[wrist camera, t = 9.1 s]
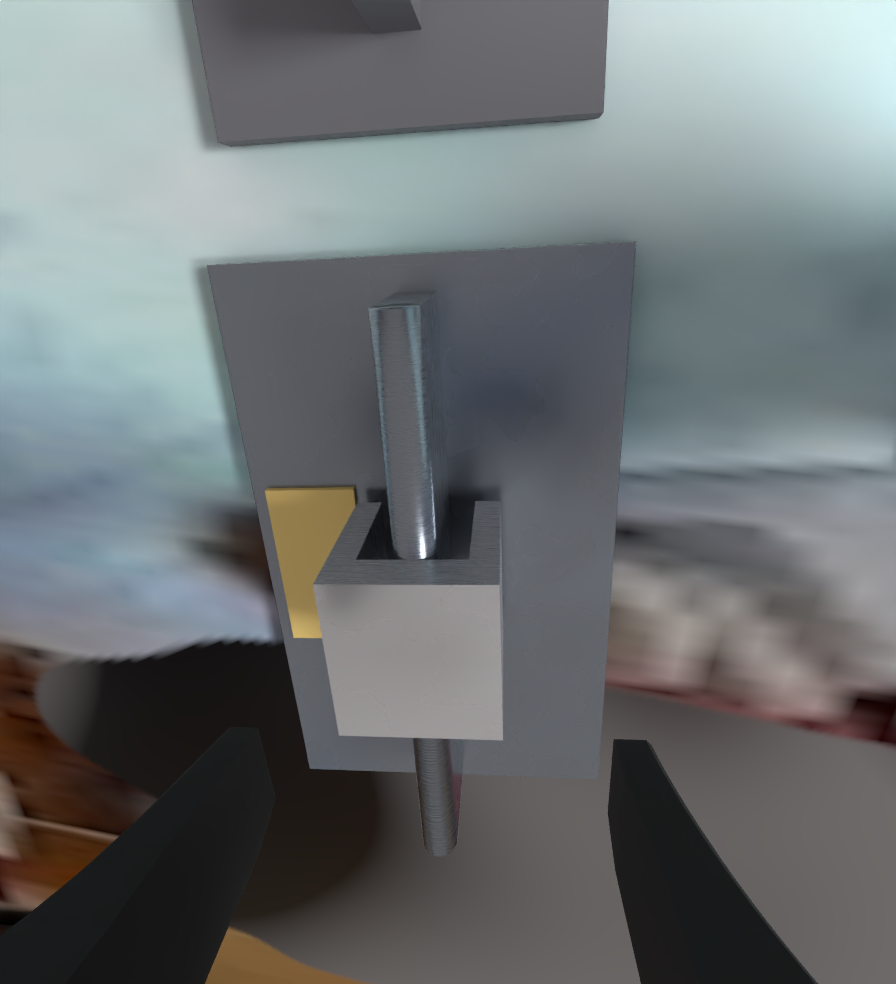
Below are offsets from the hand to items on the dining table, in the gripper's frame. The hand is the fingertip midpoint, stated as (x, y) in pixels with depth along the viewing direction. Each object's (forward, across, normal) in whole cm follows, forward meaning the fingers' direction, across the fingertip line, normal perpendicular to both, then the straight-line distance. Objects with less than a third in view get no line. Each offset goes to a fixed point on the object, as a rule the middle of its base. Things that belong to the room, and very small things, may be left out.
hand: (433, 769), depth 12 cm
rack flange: (+10, +1, +1) cm, 10 cm away
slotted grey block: (+8, +1, 0) cm, 8 cm away
